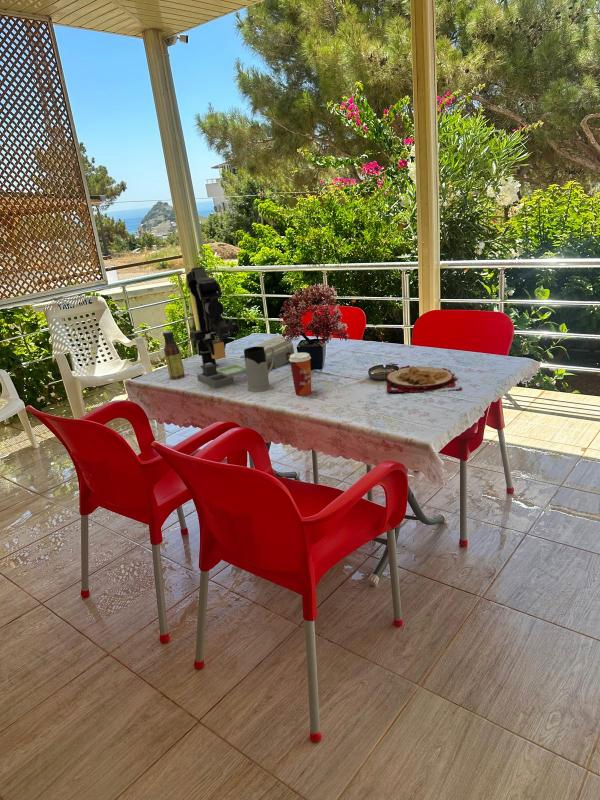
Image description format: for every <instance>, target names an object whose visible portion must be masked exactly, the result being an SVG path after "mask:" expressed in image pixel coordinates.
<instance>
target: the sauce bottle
mask: <svg viewBox="0 0 600 800" xmlns="http://www.w3.org/2000/svg"><path fill="white" fill-rule="evenodd" d="M162 336H163V338H164V343H165V344H164V348H163V351H164V357H165V361H166V367H167V370H168V375H169V379H170V380H175V381H176V380H181V379H183V378H185V369H184V364H183V360H182V355H181V350H180V349H179V347H178V345H177V343H176V341H175V337H174V331H172V330H166V331H163V332H162Z"/></svg>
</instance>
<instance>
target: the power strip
mask: <svg viewBox="0 0 600 800" xmlns="http://www.w3.org/2000/svg"><path fill="white" fill-rule="evenodd" d="M216 371H217V370H216ZM196 376H197V377H196V378H197V381H198V382H200V383H202V384H205V385H206V386H209V387H211V388H213V389H215V390H216V389H220V388H223V387H226V386H230V385H233V384H235V381H234V376H229V375H226V374H224V373H222V372H219V371H217V374H216V375H212V376H208V377H206V376H204V374H203V372H201V373H197V374H196Z"/></svg>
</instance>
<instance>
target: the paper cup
mask: <svg viewBox="0 0 600 800" xmlns="http://www.w3.org/2000/svg"><path fill="white" fill-rule="evenodd" d="M311 359H312V357H311V355H310V353H309V352H294V354H292V355H290V358H289V363H290V369H291V374H292V375H291V376H292V381H293V388H294V393H295V395H296V396H299V397H303V396H305V397H306V396H309V395H310V394H311V393H312V375H311V374H312V373H311V371H312V370H311Z"/></svg>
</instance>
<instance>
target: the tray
mask: <svg viewBox="0 0 600 800" xmlns="http://www.w3.org/2000/svg"><path fill="white" fill-rule="evenodd" d="M216 370H217V371H219V372H222V373H224V374H226V375H229V376H231V377H234V376H237V375H238V376H239V375H241V374H245V373H246V366H244V365H242V364H239V363H233V364H231V365H226V366H223V367H219V368H216Z"/></svg>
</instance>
